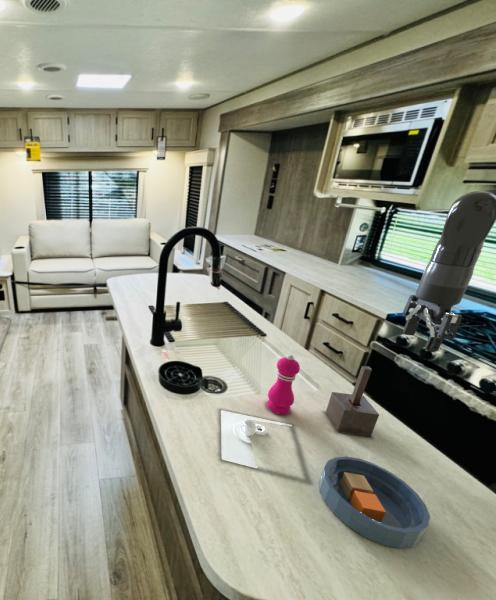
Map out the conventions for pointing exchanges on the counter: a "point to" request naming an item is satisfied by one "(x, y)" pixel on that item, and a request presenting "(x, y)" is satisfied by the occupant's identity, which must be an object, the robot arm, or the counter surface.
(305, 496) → the counter surface
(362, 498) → the block
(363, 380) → the stir stick
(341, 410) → the stick stand
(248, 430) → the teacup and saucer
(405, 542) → the bowl
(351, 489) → the block
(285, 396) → the pepper mill
